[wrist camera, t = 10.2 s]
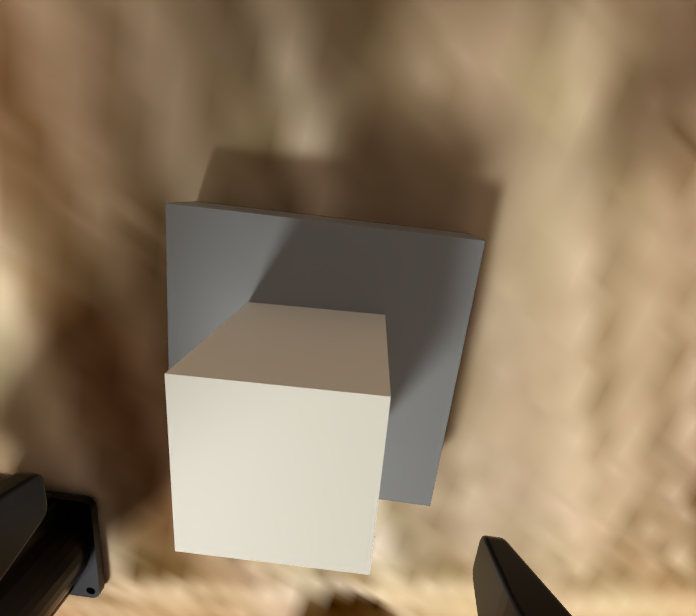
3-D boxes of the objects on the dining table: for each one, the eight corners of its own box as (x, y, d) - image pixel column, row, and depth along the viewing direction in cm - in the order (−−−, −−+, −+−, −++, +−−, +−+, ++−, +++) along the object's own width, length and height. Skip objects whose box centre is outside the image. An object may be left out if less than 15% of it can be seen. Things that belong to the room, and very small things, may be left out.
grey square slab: (421, 459, 19) (430, 506, 17) (200, 429, 20) (170, 469, 17) (465, 232, 16) (485, 240, 13) (201, 201, 17) (165, 203, 14)
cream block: (372, 435, 16) (369, 574, 10) (247, 422, 16) (175, 550, 10) (385, 314, 14) (391, 396, 9) (248, 301, 15) (164, 373, 9)
